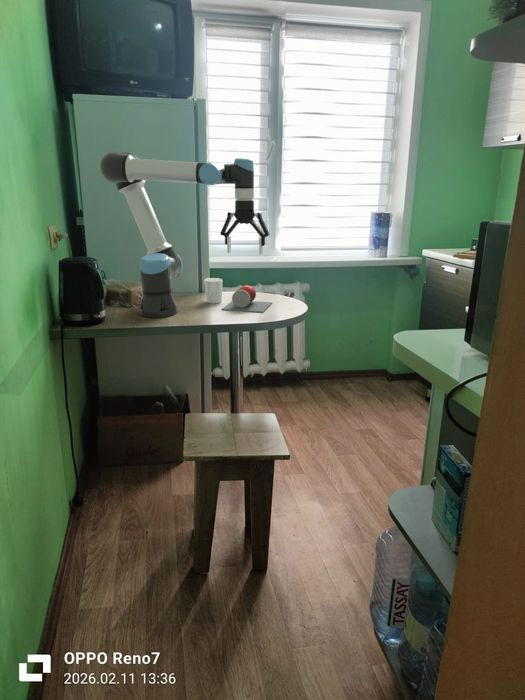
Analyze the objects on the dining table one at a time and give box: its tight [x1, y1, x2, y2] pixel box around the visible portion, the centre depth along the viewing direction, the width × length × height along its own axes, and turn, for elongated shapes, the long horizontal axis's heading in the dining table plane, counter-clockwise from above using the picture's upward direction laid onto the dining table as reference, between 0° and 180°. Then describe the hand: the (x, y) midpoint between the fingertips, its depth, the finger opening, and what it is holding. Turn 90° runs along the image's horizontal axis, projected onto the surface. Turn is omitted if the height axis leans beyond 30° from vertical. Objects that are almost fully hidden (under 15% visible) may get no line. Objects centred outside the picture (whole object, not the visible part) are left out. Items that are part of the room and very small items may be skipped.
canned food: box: [231, 284, 257, 308], centre depth 212 cm, size 8×8×11 cm
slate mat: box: [221, 300, 273, 314], centre depth 212 cm, size 18×16×1 cm
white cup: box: [203, 277, 223, 304], centre depth 219 cm, size 8×8×10 cm
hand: (244, 253), depth 204 cm, fingers open, 13 cm apart
